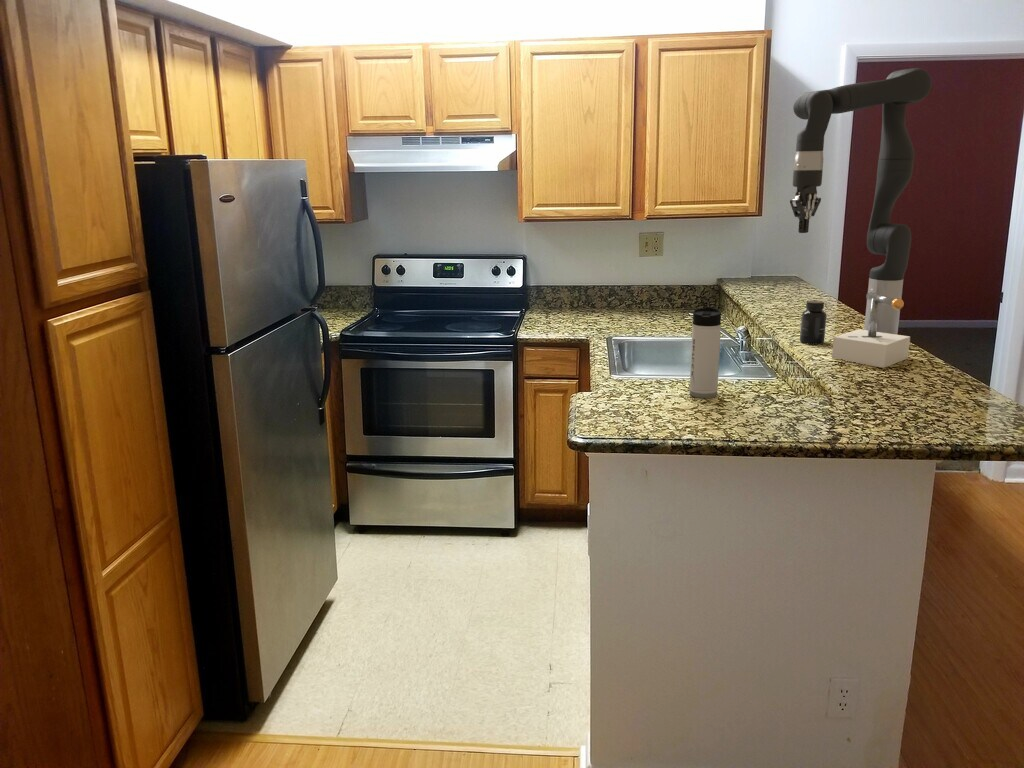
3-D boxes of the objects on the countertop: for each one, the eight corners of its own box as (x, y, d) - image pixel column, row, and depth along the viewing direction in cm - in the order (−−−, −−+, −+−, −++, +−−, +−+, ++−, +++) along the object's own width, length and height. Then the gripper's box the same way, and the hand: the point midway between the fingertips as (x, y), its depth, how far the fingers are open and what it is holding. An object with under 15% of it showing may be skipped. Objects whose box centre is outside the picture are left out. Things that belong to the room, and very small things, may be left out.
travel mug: (718, 391, 187) (722, 307, 182) (715, 399, 181) (720, 312, 176) (691, 389, 189) (694, 306, 184) (687, 397, 183) (691, 311, 178)
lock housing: (856, 350, 224) (858, 328, 222) (907, 358, 213) (910, 336, 212) (831, 358, 215) (833, 336, 213) (883, 367, 205) (886, 344, 203)
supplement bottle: (826, 345, 231) (829, 304, 227) (801, 344, 232) (804, 303, 229) (822, 340, 237) (825, 300, 234) (798, 339, 238) (801, 299, 235)
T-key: (861, 333, 215) (865, 290, 212) (870, 333, 215) (875, 290, 212) (891, 345, 201) (896, 299, 198) (901, 344, 202) (906, 299, 199)
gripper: (808, 169, 212) (803, 235, 217) (833, 168, 220) (827, 231, 225) (782, 169, 218) (778, 233, 222) (807, 168, 226) (803, 230, 231)
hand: (803, 232), depth 224 cm, fingers closed
